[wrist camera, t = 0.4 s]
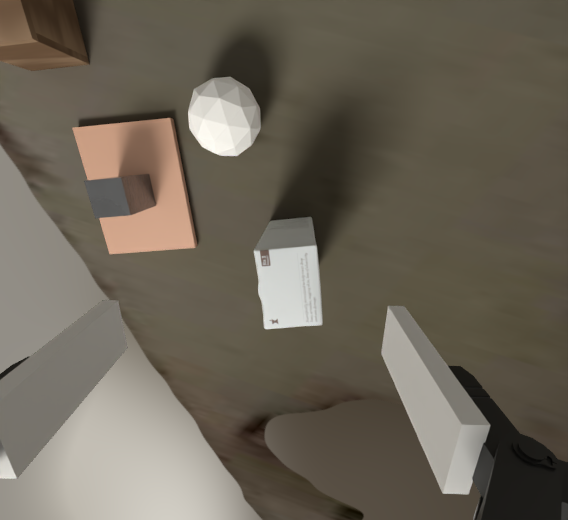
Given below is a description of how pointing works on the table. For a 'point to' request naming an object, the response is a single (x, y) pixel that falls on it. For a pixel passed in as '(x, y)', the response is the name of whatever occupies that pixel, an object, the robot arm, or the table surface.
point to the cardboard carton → (41, 34)
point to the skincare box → (289, 274)
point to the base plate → (134, 161)
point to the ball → (224, 116)
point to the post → (120, 195)
